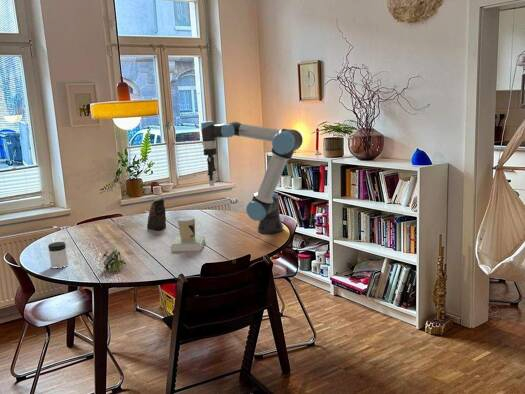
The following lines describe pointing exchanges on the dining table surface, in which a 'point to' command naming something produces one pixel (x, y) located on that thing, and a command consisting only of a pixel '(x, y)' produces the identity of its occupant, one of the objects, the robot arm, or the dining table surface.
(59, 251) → the jar
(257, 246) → the dining table surface
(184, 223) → the coffee cup
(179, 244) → the plinth
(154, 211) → the owl
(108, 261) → the small green plant
